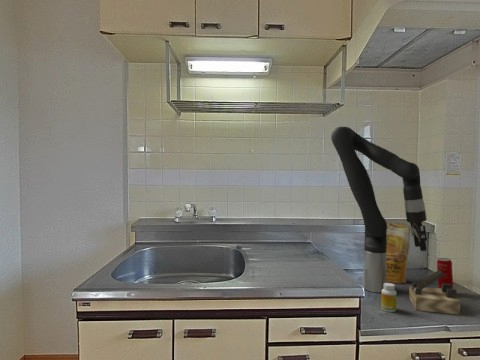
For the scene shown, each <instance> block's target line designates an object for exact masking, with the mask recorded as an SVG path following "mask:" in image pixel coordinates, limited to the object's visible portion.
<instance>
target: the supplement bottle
mask: <svg viewBox="0 0 480 360" xmlns="http://www.w3.org/2000/svg"><path fill="white" fill-rule="evenodd" d="M383 287H384V289H382V292H380V293H381V300H380V301H381V303H380V308H381V309H382V311H384V312H389V313H394V312H396V311H397V296H398V295H397V294H398V293H397V291H396V289H395V288H396V285H395V283H390V282H386V283H384V286H383Z"/></svg>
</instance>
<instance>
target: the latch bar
mask: <svg viewBox="0 0 480 360" xmlns="http://www.w3.org/2000/svg"><path fill="white" fill-rule="evenodd" d="M443 275H444V274H443V273H442V272H441V271H440V270H438V271H437V270H436V271H435V272H434V273H432V274H430V275H429V276H427V277H426V278H425V279H423V280H421V281H420V282H417V283H418V284H417V285H415V286H414V287H413V289H414V290H415V287H417V288H421V289H424V288H425V287H428V286H430V285H431V284H433V283H434V282H436V281H438V279H439V278H440V277H442V276H443Z"/></svg>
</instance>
